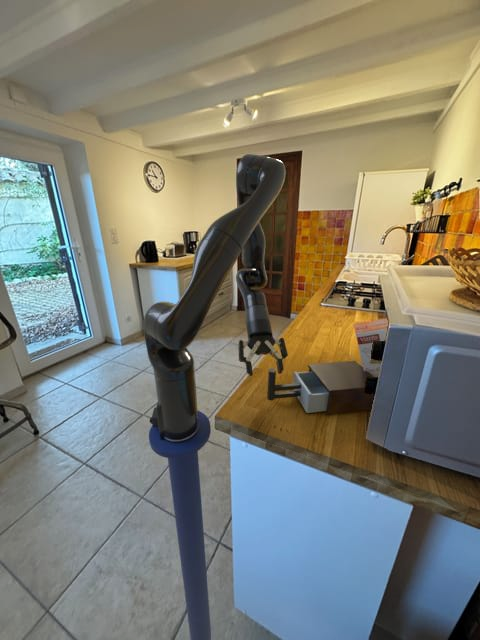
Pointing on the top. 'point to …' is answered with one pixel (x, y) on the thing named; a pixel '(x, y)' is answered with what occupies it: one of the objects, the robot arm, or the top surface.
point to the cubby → (343, 386)
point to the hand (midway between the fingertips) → (265, 374)
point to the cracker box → (370, 342)
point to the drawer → (300, 390)
